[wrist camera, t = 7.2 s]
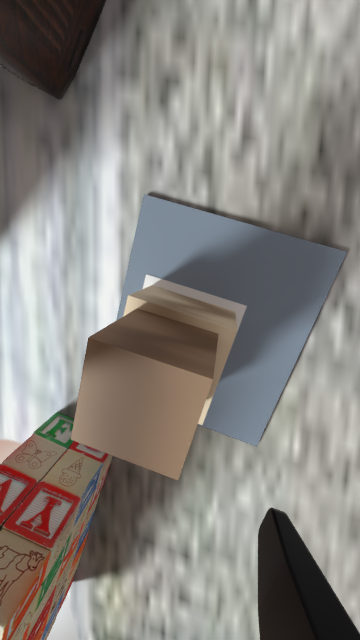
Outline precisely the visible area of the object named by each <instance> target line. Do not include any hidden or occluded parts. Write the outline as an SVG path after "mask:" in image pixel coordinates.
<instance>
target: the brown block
mask: <svg viewBox="0 0 360 640" xmlns="http://www.w3.org/2000/svg"><path fill="white" fill-rule="evenodd" d="M218 335H219V334H217V333H214V332H211V331H208V330H205V329H202V328H198V327H195V326H192V325H189V324H186V323H183V322H179V321H176V320H173V319H170V318H167V317H164V316H160V315H157V314H154V313H151V312H148V311H145V310H141V309H138V308H137V309H135V310H133V311H132V312H130V313H128V314H127V315H125V316H123V317H122V318H120V319H118V320H117V321H115V322H114V323H112V324H110V325H109V326H107V327H105V328H104V329H102V330H100V331H99V332H97V333H95V334H94V335H92V336H90V337H89V338H88V343H87V349H86V354H85V360H84V366H83V372H82V377H81V383H80V389H79V395H78V401H77V406H76V412H75V418H74V424H73V430H72V435H71V440H73V441H76V442H78V443H81V444H84V445H86V446H89V447H91V448H94V449H97V450H99V451H102V452H104V453H107V454H110V455H112V456H115V457H118V458H120V459H123V460H125V461H128V462H131V463H133V464H136V465H138V466H141V467H144V468H146V469H149V470H152V471H154V472H157V473H159V474H162V475H165V476H167V477H170V478H172V479H175V480H178V479H179V476H180V474H181V471H182V468H183V465H184V462H185V459H186V456H187V453H188V451H189V448H190V445H191V442H192V439H193V436H194V433H195V430H196V428H197V425H198V422H199V419H200V416H201V413H202V410H203V407H204V405H205V402H206V399H207V396H208V393H209V390H210V387H211V384H212V382H213V377H214V369H215V360H216V352H217V343H218Z"/></svg>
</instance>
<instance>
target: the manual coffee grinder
mask: <svg viewBox="0 0 360 640" xmlns="http://www.w3.org/2000/svg"><path fill="white" fill-rule="evenodd" d="M105 2H106V0H0V64H1V65H2V66H4V67H5V68H7V69H8V70H9V71H11V72H12V73H14V74H15V75H16V76H18V77H19V78H21V79H22V80H24V81H26V82H28V83H30V84H32V85H34V86H36V87H38V88H40V89H41V90H43V91H45V92H47V93H49V94H50V95H52V96H54V97H56V98H58V99H61V98H62V97H63V95H64V93H65V92H66V90H67V88H68V87H69V85H70V83H71V82H72V80H73V78H74V77H75V75H76V72H77V70H78V68H79V65H80V63H81V60H82V58H83V56H84V53H85V51H86V49H87V46H88V44H89V41H90V39H91V36H92V34H93V31H94V29H95V27H96V24H97V22H98V19H99V17H100V14H101V12H102V9H103V7H104V4H105Z"/></svg>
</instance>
